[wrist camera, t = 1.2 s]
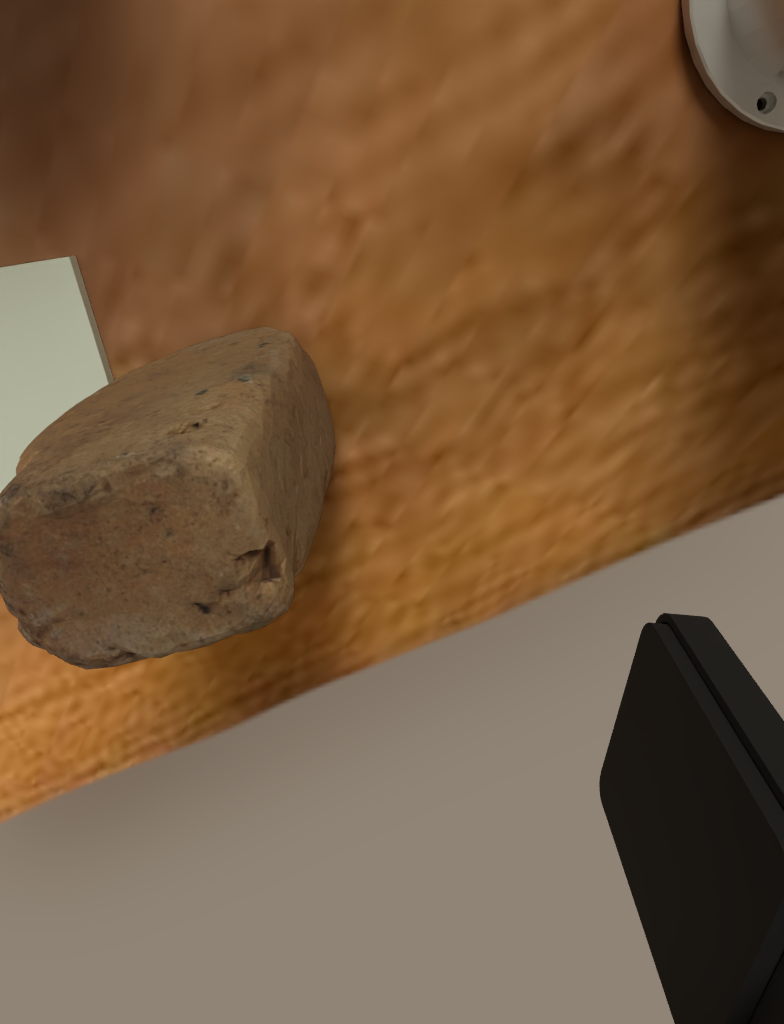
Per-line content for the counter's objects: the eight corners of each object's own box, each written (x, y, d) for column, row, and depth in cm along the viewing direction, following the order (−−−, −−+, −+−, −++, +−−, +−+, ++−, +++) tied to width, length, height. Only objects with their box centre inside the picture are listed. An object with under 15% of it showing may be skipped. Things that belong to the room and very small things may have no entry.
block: (311, 310, 37) (243, 420, 19) (347, 445, 40) (319, 656, 22) (112, 357, 38) (-141, 508, 19) (162, 486, 41) (-17, 723, 22)
